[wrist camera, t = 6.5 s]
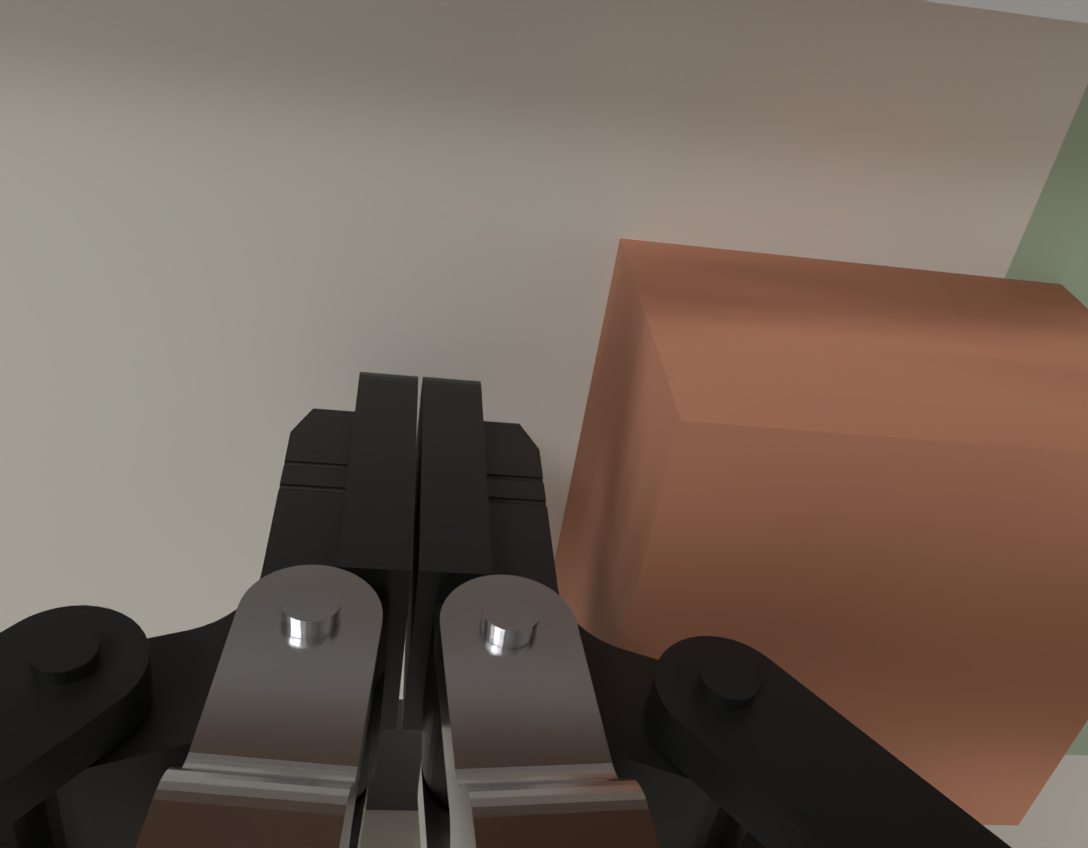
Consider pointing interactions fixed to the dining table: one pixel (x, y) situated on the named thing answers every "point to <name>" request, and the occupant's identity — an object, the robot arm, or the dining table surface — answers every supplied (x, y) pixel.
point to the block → (849, 497)
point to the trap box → (451, 239)
